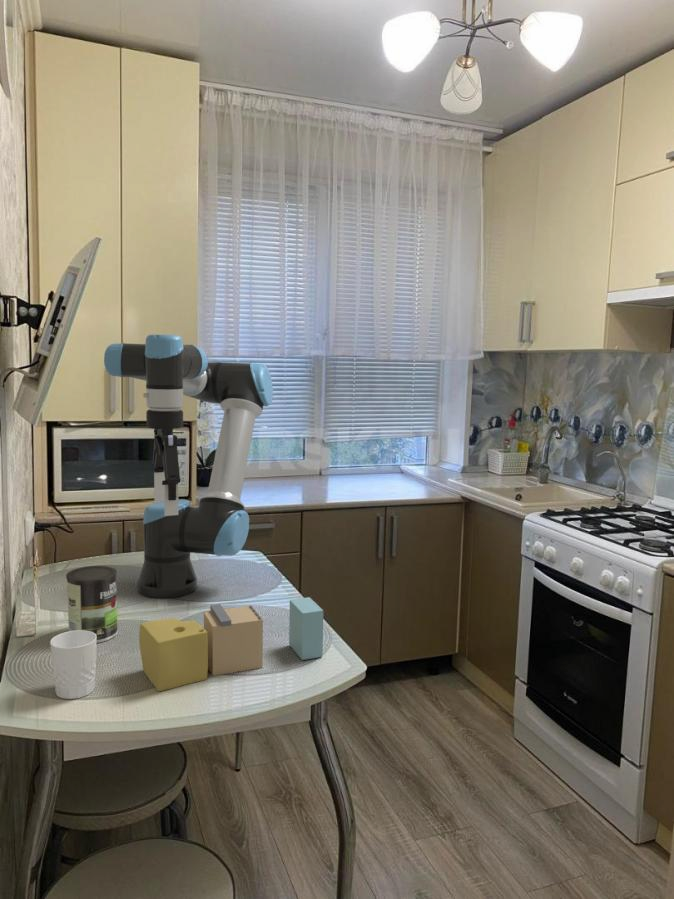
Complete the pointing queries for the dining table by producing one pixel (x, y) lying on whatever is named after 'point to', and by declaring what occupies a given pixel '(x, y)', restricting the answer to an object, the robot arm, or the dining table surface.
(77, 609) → the coffee can
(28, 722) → the dining table surface
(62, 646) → the white cup
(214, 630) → the slotted tan box
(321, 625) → the light blue box
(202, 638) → the cheese
